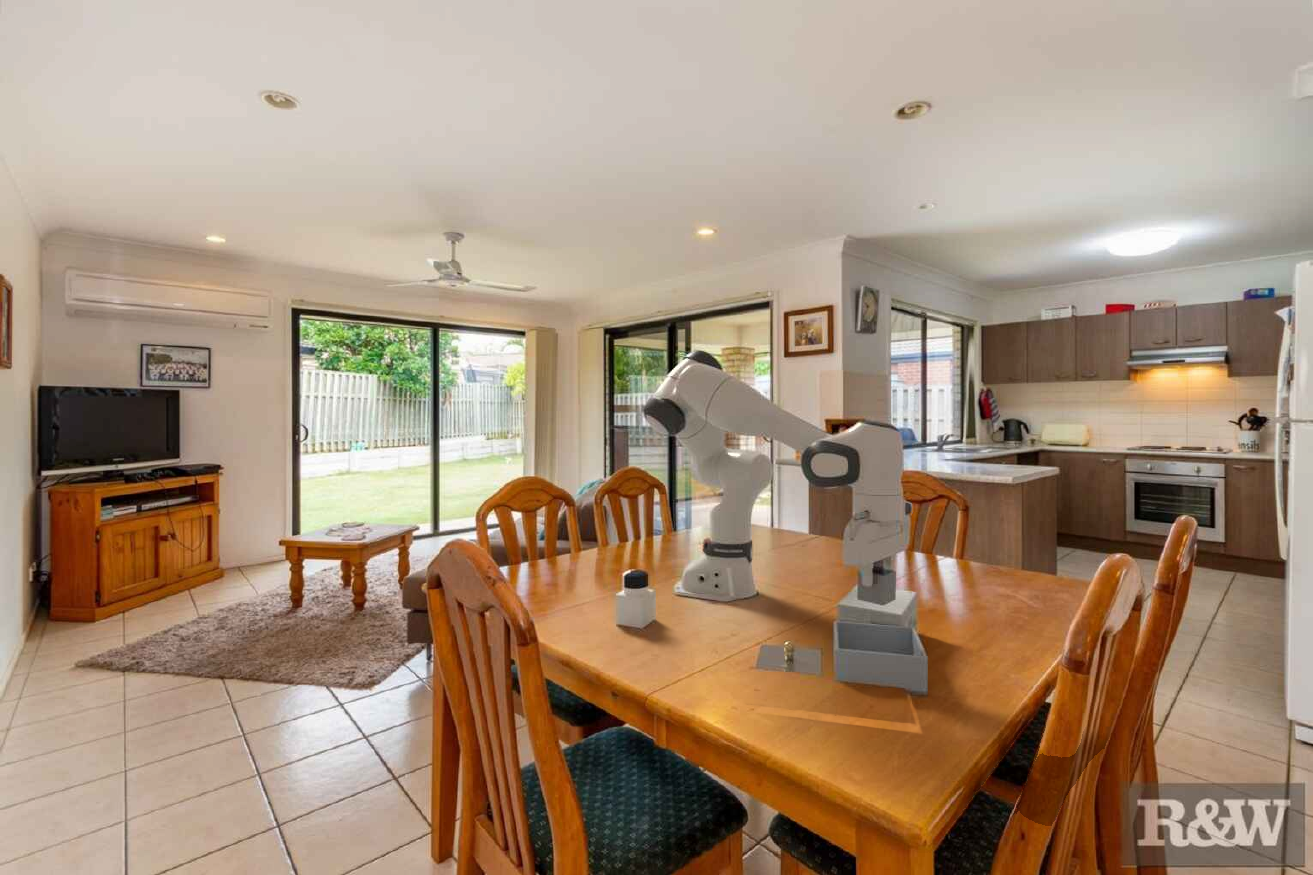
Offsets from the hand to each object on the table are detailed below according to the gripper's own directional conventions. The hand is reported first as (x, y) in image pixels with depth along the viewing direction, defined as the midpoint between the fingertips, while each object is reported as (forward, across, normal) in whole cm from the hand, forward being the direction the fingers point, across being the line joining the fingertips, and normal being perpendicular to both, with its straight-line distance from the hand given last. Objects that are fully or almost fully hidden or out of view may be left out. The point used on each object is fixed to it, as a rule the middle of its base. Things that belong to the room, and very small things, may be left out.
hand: (876, 582), depth 112 cm
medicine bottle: (+18, -13, +52) cm, 57 cm away
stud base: (+17, -8, +14) cm, 23 cm away
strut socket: (+3, 0, 0) cm, 3 cm away
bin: (+17, 0, 0) cm, 17 cm away
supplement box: (+18, +16, +7) cm, 25 cm away
